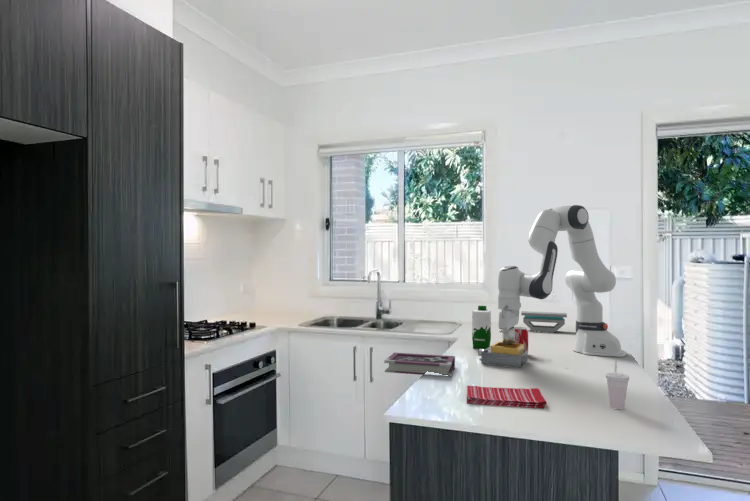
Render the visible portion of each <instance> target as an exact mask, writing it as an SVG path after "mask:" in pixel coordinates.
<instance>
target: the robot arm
mask: <svg viewBox="0 0 750 501" xmlns="http://www.w3.org/2000/svg"><path fill="white" fill-rule="evenodd" d="M589 219H590V218H589V212H588V210H587V209H586V208H585V207H584V206H583V205H578V204H574V205H563V206H559V207H555V208H549V209H543V210H542V211H540V213H539V214H537V217H536V218H535V220H534V222H533V223H532V226H531V229H530V231H529V234H528V239H527V241H528V245H529V246H530V247H531V249H533V250H534V251H535V252H537V253H538V254H541V255H542V259H541V263H540V267H539V268H540V269H539V272H537V273H536V274H528V273H525V272H523V271H521V270H520V269H519V266H516V265H509V266H503V267H501V268H500V270H499V273H498V278H497V279H498V280H497V281H498V282H497V289H498V296H497V309H498V310H500V311H499V314H498V330H499V331H500V330H503V332H504V339H509V329H510V328H512V327H516V326H517V325H518V324H519V320H520V310H521V307H522V306H521V305H522V304H521V297H526V298H533V299H537V300H545V299H546V298H548V297H549V296H550V295H551V293H552V291H553V284H554V282H553V280H554V278H553V277H554V274H555V269H556V265H557V264H556V263H557V258H558V252H559V249H558V246H557V244H556V239H557V236H558V232H565V231H566V233H567V240H568V241H567V242H568V245H569V250H570V254H571V258H572V259H573V261H574V262H576V263H577V264H578V265H579V267H577V268H573V269H570V270H568V271H567V273H566V274H565V278H564V279H565V285H566V286H567V287H568V288H569V289H570V290H571V292H572V294H573V296H574V299H575V303H576V320H575V332H576V334H575V341H574V346H573V349H572V350H573V351H574V352H577V353H581V354H584V355H586V356H602V357H616V358H617V357H619V358H621V357H622V358H623V357H626V356H627V351H626V350H624V349H622V345H621V341H620V340H619V338H618V337H616V336H615V335H613V334H612V333H611V332H610V331H609V330H608V327H609V325H608V323H606V322H604V321H603V317H604V316H603V305H602V303H601V302H600V301H599V300H598V299H597V297H596V293H598V294H599V293H600V294H601V293H608V292H612V290H614V289H615V287H616V283H617V279H616V276H615V274H614V272H612V271H611V270H610V269H608V268H607V267H606V265H605V264H604V263H603V261H602V259H601V258H600V256H599V253H598V250H597V245H596V241H595V237H594V233H593V230H592V226H591V223H590V222H589Z"/></svg>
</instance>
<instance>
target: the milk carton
mask: <svg viewBox="0 0 750 501" xmlns="http://www.w3.org/2000/svg"><path fill="white" fill-rule="evenodd" d="M471 317H472V318H471V319H472V320H471V340H472V349H478V350H479V349H487V348H488V347H490V346H491V342H492V311H491V309H487V305H478V306H477V309H474V310H472V316H471Z"/></svg>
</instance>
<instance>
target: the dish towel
mask: <svg viewBox="0 0 750 501" xmlns="http://www.w3.org/2000/svg"><path fill="white" fill-rule="evenodd" d="M466 390H467V391H466V404H473V405H483V406H496V407H511V408H513V407H514V408H526V409H527V408H529V409H530V408H531V409H545V407H544V406H545V405H547V403H548V402H547V401H546V399H545V398H544V396H543V395H542V392H541V390H540V389H539V388H535V387H533V388H522V387H521V388H520V387H518V388H513V387H489V386H488V387H485V386H479V385H467V386H466Z"/></svg>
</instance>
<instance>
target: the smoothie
mask: <svg viewBox="0 0 750 501" xmlns="http://www.w3.org/2000/svg"><path fill="white" fill-rule="evenodd" d="M617 362H618V361H617V360H614V372H607V373H605V379H606V382H607V390H608V396H609V397H608V398H609V406H611V407H612V408H611V407H610V408H611V409H613V408H616V409H615V410H618V409H623V410H625V406H626V399H627V398H626V397H627V391H628V385H629V381H630V376H629V375H628V374H624V373H620V372H618V371H617V369H618V368H617V367H618V364H617Z"/></svg>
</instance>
